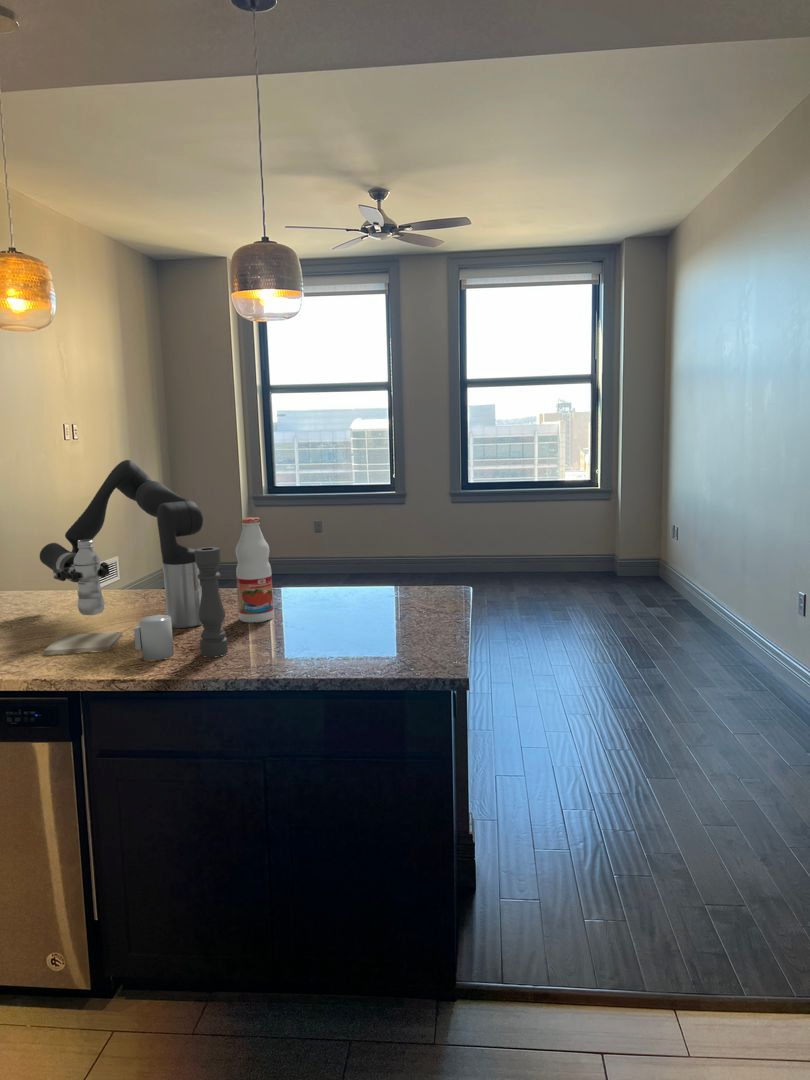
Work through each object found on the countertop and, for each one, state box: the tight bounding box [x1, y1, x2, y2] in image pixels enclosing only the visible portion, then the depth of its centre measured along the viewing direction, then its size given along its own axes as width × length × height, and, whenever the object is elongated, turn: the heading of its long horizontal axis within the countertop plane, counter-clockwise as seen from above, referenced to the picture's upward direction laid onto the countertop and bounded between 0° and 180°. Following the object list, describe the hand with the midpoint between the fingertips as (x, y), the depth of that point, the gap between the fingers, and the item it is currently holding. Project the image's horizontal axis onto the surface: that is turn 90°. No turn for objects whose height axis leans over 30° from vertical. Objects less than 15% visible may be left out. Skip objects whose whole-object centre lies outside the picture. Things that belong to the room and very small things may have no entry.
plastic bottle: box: [73, 539, 106, 616], centre depth 198 cm, size 6×7×20 cm
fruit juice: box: [235, 516, 275, 624], centre depth 205 cm, size 9×9×28 cm
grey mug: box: [133, 614, 175, 661], centre depth 175 cm, size 8×7×9 cm
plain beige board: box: [43, 631, 124, 656], centre depth 186 cm, size 15×13×1 cm
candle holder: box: [194, 546, 229, 658], centre depth 175 cm, size 6×6×25 cm
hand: (90, 575), depth 196 cm, fingers closed on plastic bottle, 6 cm apart
